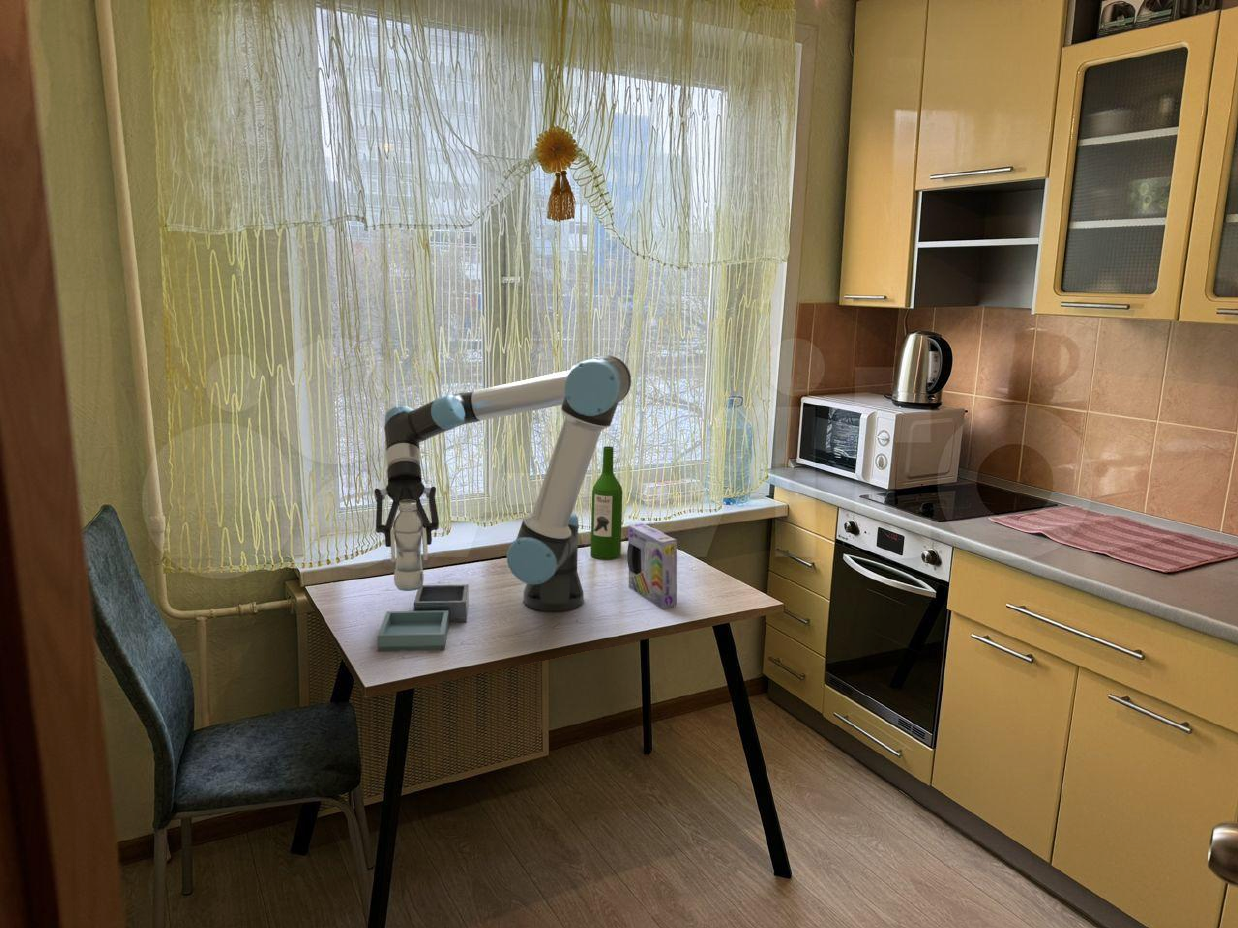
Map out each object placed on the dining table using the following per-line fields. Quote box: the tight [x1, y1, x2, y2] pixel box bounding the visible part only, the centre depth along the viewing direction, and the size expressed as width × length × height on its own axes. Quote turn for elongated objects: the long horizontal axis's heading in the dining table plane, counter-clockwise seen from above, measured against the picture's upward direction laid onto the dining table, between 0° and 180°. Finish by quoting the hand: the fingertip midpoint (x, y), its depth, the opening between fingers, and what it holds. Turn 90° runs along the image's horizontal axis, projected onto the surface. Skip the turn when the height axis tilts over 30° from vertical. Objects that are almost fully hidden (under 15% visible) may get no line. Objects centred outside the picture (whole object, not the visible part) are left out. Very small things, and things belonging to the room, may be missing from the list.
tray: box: [377, 610, 450, 652], centre depth 193 cm, size 14×14×4 cm
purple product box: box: [626, 522, 678, 609], centre depth 221 cm, size 19×5×18 cm, turn 27°
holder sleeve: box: [413, 584, 470, 624], centre depth 207 cm, size 12×12×5 cm
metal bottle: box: [392, 500, 425, 592], centre depth 189 cm, size 6×7×20 cm
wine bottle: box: [590, 445, 623, 561], centre depth 251 cm, size 9×9×32 cm
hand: (409, 558), depth 186 cm, fingers closed on metal bottle, 6 cm apart
